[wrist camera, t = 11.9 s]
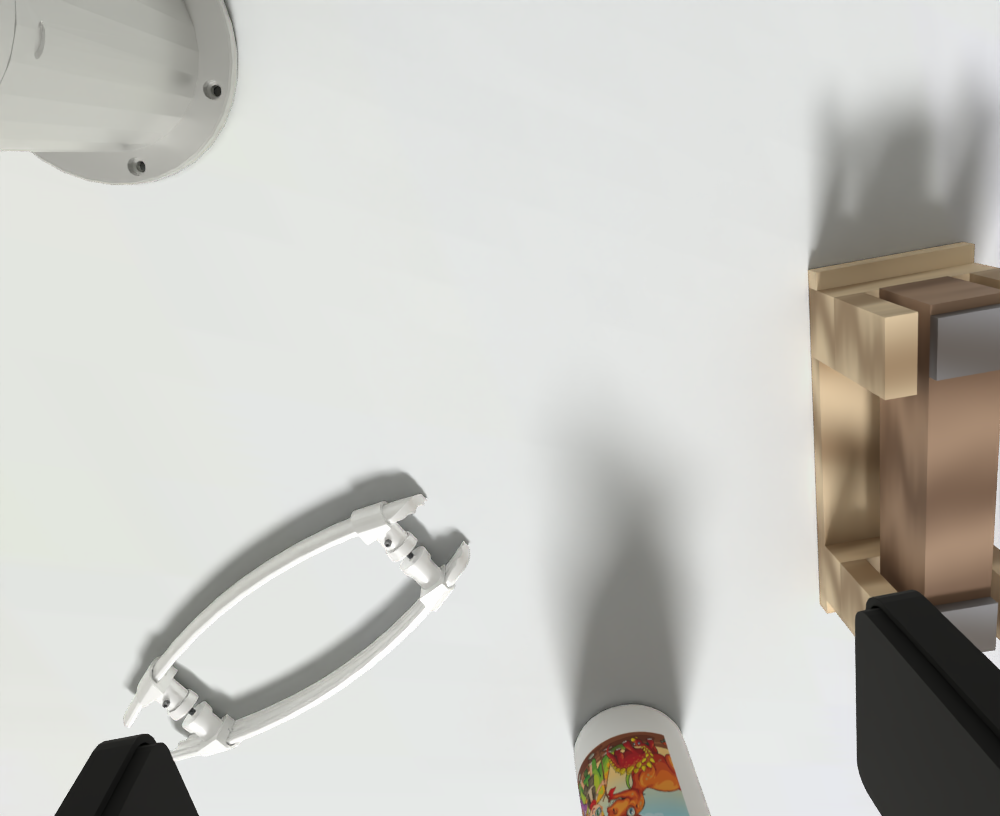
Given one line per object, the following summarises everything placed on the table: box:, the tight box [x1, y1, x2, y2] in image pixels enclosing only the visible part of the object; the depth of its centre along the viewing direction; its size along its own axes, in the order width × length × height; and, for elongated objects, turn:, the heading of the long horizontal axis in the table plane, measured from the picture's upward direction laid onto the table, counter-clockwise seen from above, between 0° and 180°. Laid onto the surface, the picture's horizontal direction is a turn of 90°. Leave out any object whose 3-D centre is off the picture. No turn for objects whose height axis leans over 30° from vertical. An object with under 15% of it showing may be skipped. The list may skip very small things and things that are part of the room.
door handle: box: [123, 494, 470, 762], centre depth 46 cm, size 3×10×25 cm
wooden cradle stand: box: [808, 242, 1000, 640], centre depth 40 cm, size 22×8×8 cm, turn 10°
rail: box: [879, 276, 1000, 652], centre depth 38 cm, size 20×4×5 cm, turn 10°
